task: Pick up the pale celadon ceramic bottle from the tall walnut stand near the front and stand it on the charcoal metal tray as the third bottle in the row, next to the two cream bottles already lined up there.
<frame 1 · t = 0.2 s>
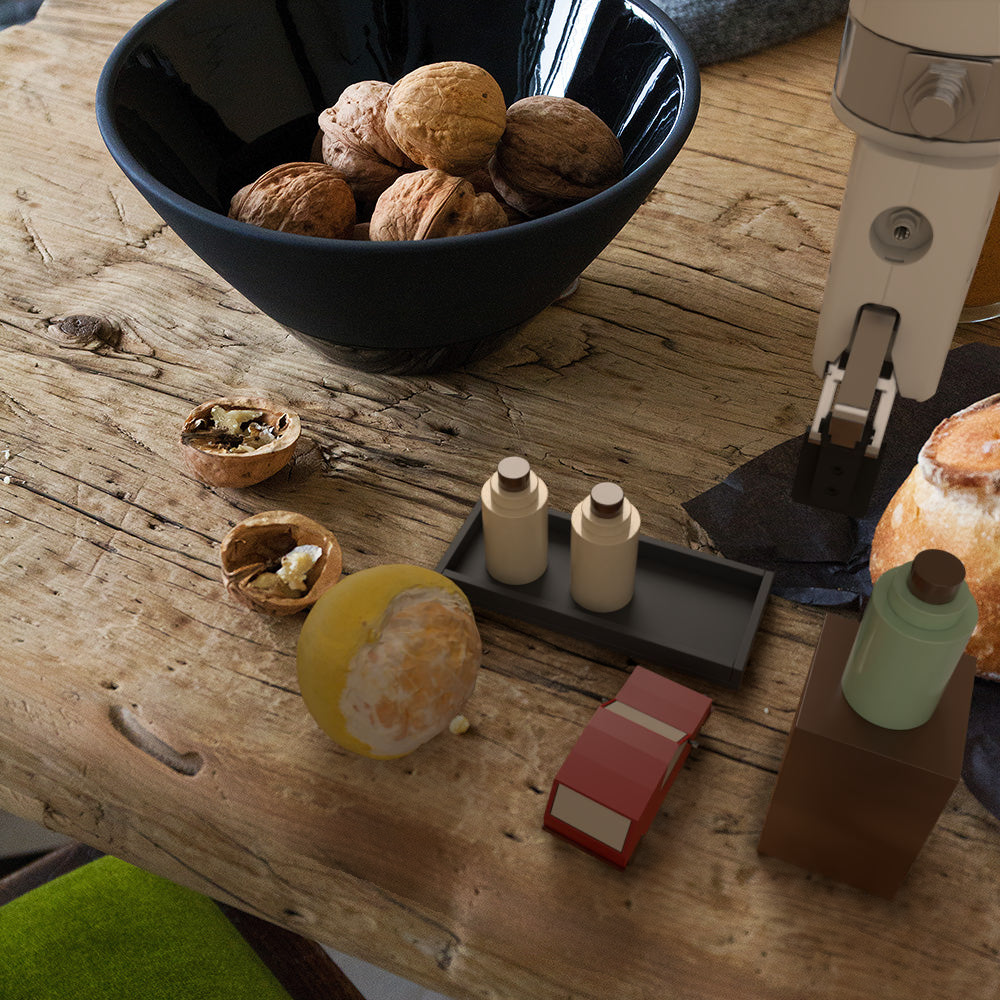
hand: (848, 436, 48), 20 cm above the table, tool pointing down, fingers open, 9 cm apart
bottle far: (516, 561, 68), point 1 cm above the table, touching tray
toy truck: (629, 779, 58), on the table
tray: (601, 593, 67), on the table
stand: (835, 818, 56), on the table
bottle mid: (601, 587, 67), point 1 cm above the table, touching tray
bottle celadon: (888, 690, 47), point 12 cm above the table, touching stand
fruit: (400, 712, 61), on the table
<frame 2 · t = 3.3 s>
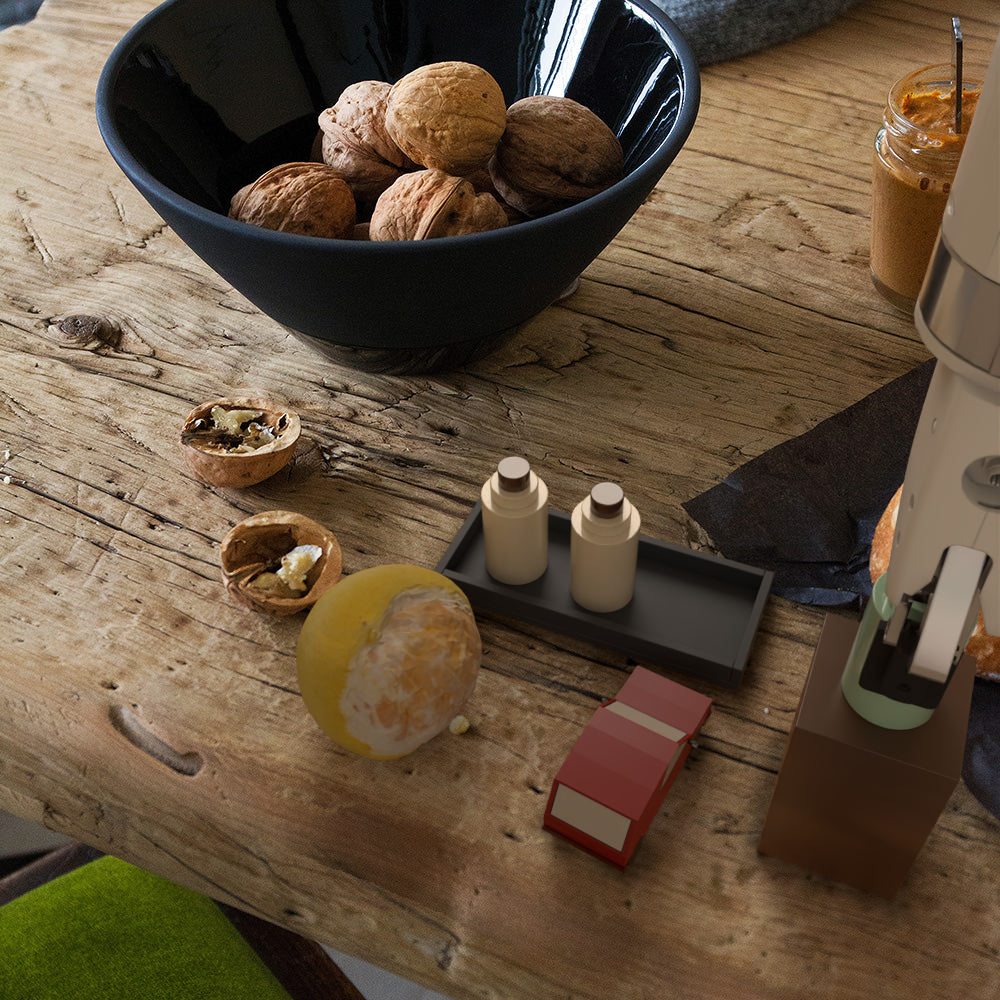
hand: (906, 646, 45), 15 cm above the table, tool pointing down, fingers closed on bottle celadon, 4 cm apart
bottle celadon: (888, 690, 47), point 12 cm above the table, touching gripper, stand
everything else where it was.
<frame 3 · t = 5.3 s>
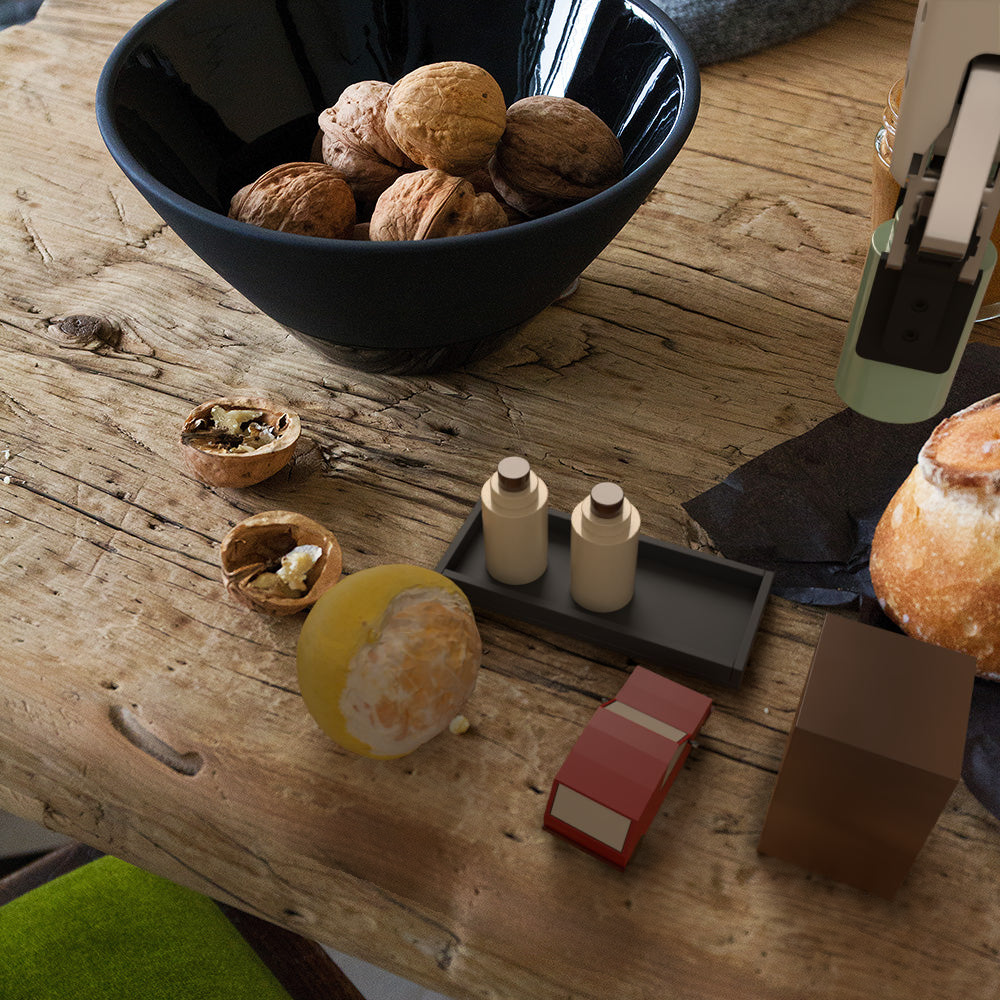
hand: (910, 318, 38), 29 cm above the table, tool pointing down, fingers closed on bottle celadon, 4 cm apart
bottle celadon: (888, 389, 40), point 26 cm above the table, touching gripper
everything else where it was.
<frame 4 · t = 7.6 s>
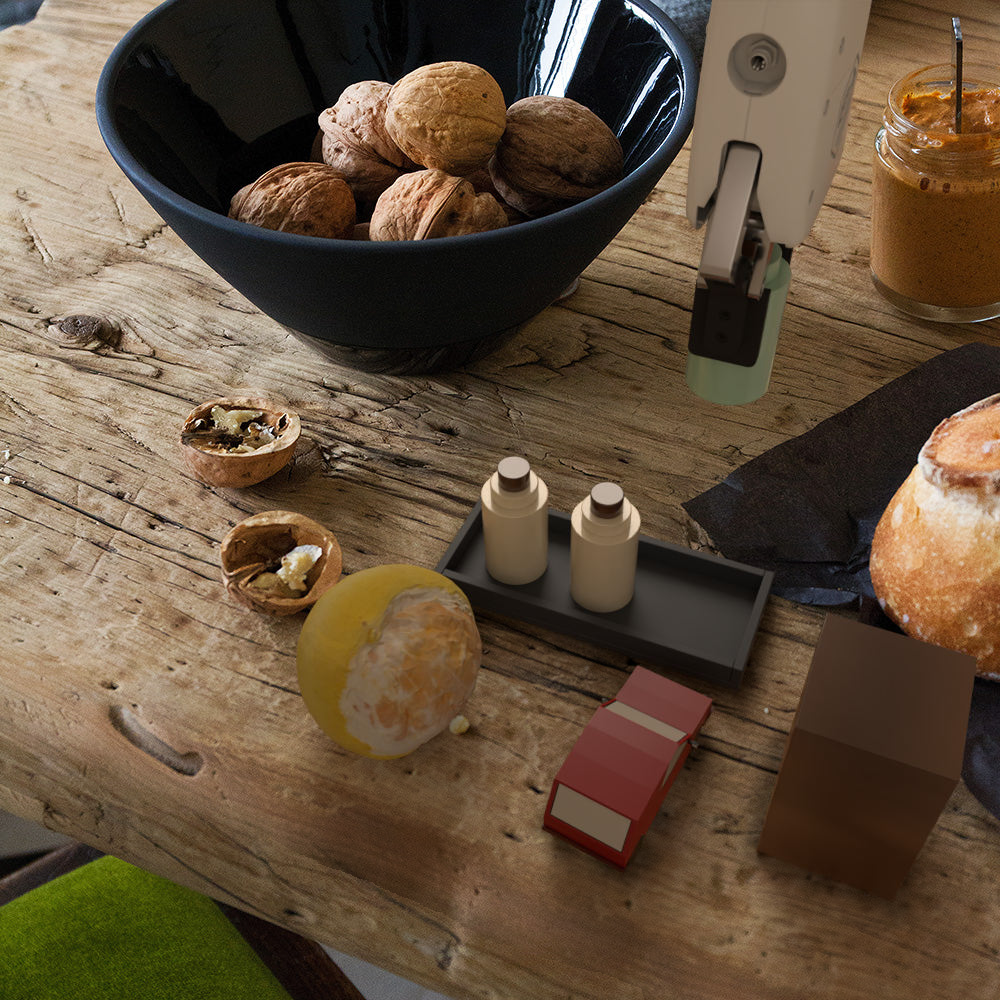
hand: (736, 324, 49), 23 cm above the table, tool pointing down, fingers closed on bottle celadon, 4 cm apart
bottle celadon: (726, 379, 51), point 19 cm above the table, touching gripper
everything else where it was.
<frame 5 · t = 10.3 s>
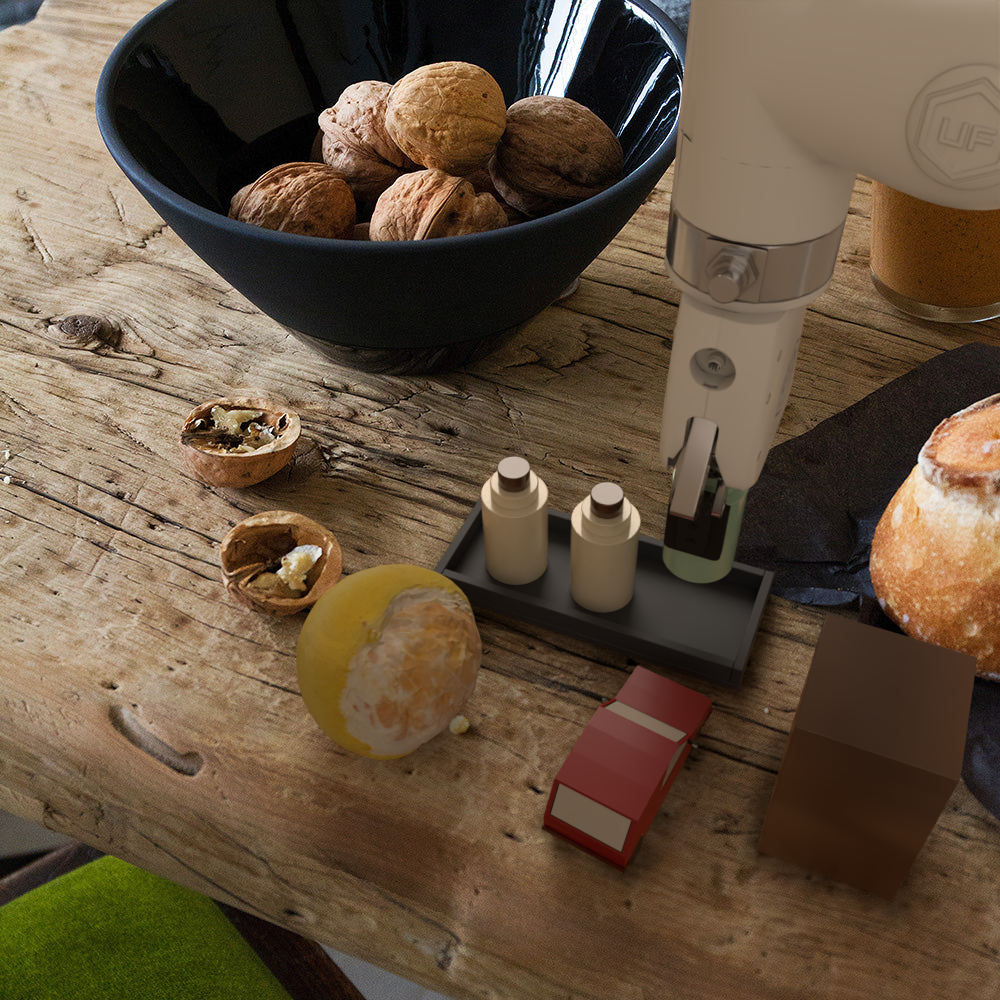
hand: (704, 518, 59), 9 cm above the table, tool pointing down, fingers closed on bottle celadon, 4 cm apart
bottle celadon: (697, 556, 61), point 6 cm above the table, touching gripper
everything else where it was.
when the fingers open (4 cm above the table, at t = 11.9 s): bottle celadon stays where it is, resting on tray.
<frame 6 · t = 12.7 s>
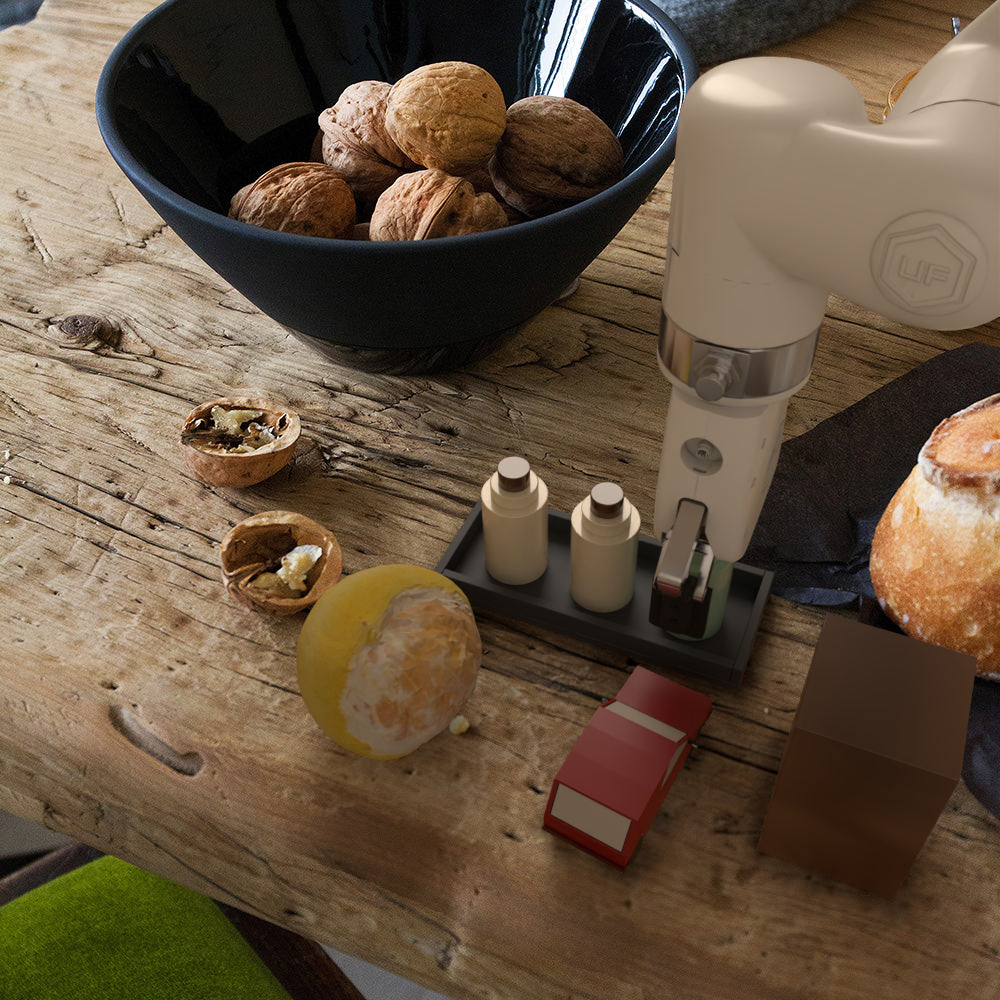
hand: (700, 568, 62), 5 cm above the table, tool pointing down, fingers open, 9 cm apart
bottle celadon: (689, 614, 65), point 1 cm above the table, touching tray
everything else where it was.
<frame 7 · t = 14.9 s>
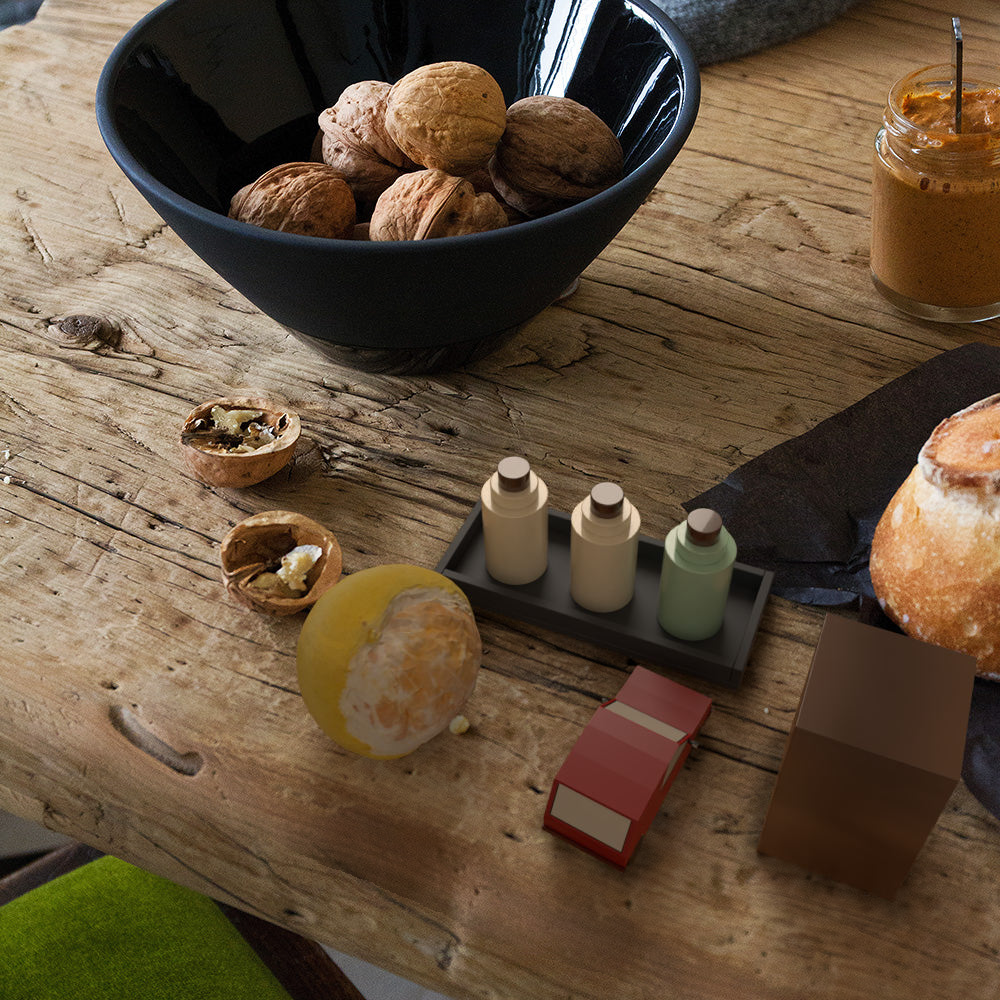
nothing on the table moved.
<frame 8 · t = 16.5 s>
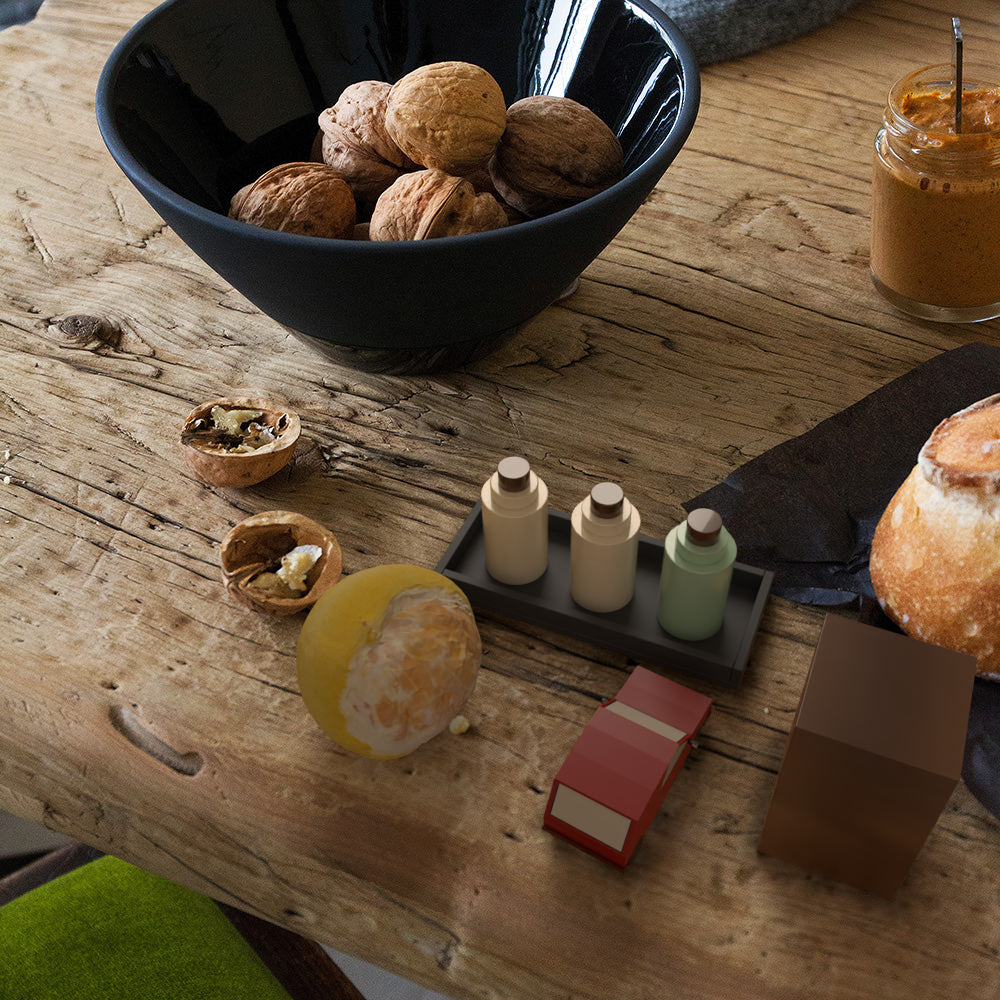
nothing on the table moved.
at the end: bottle celadon 0.1 cm from the target spot on the table beside the bottle far, resting on tray; bottle celadon 0.1 cm from the target spot in the tray, point 0.6 cm above the tray's base; bottle celadon tilted 0° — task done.
